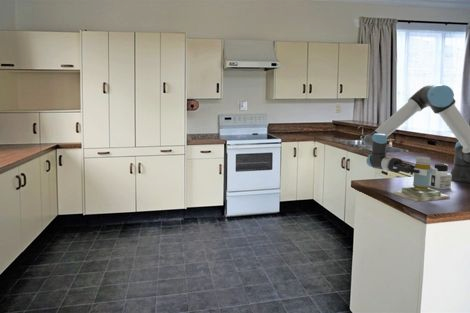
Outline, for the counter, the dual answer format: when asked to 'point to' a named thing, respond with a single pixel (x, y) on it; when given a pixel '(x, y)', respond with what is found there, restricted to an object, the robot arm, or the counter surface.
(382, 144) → the robot arm
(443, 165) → the container
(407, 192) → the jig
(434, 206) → the counter surface
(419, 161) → the bottle
